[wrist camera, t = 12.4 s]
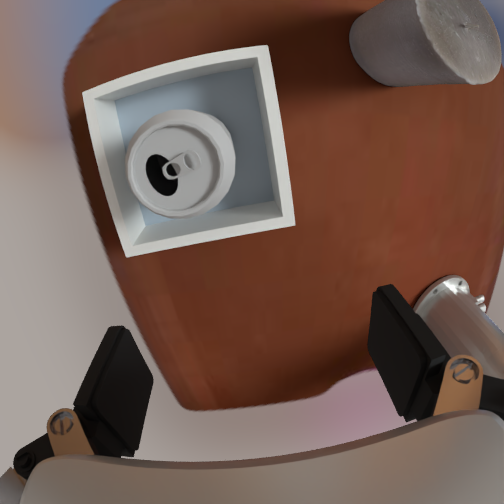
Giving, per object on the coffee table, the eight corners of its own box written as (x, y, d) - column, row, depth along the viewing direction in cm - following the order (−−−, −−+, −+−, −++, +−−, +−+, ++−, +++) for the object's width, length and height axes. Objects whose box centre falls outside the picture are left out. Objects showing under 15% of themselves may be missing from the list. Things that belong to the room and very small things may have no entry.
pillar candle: (411, 17, 22) (496, -10, 8) (425, 89, 26) (520, 93, 13) (339, 9, 22) (409, -46, 9) (355, 87, 26) (443, 77, 13)
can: (146, 133, 26) (96, 147, 15) (214, 99, 25) (204, 86, 15) (178, 197, 29) (151, 246, 19) (245, 166, 29) (256, 198, 18)
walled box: (259, 58, 25) (267, 44, 19) (283, 205, 32) (295, 225, 26) (107, 95, 25) (82, 92, 19) (141, 233, 32) (126, 257, 26)
